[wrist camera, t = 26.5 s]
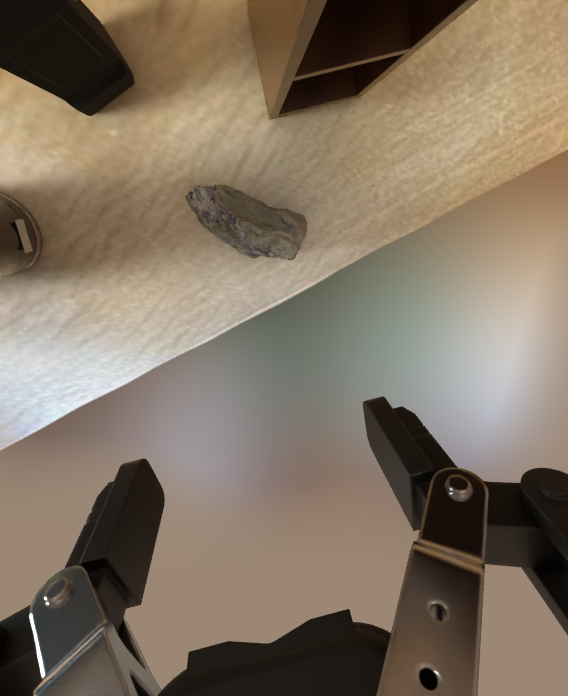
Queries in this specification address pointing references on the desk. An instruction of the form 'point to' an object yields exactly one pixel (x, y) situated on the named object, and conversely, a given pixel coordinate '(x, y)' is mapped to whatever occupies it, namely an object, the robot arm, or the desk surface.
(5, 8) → the portable radio
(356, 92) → the shelf
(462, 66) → the desk surface
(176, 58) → the desk surface
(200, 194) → the mineral rock
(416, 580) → the robot arm
